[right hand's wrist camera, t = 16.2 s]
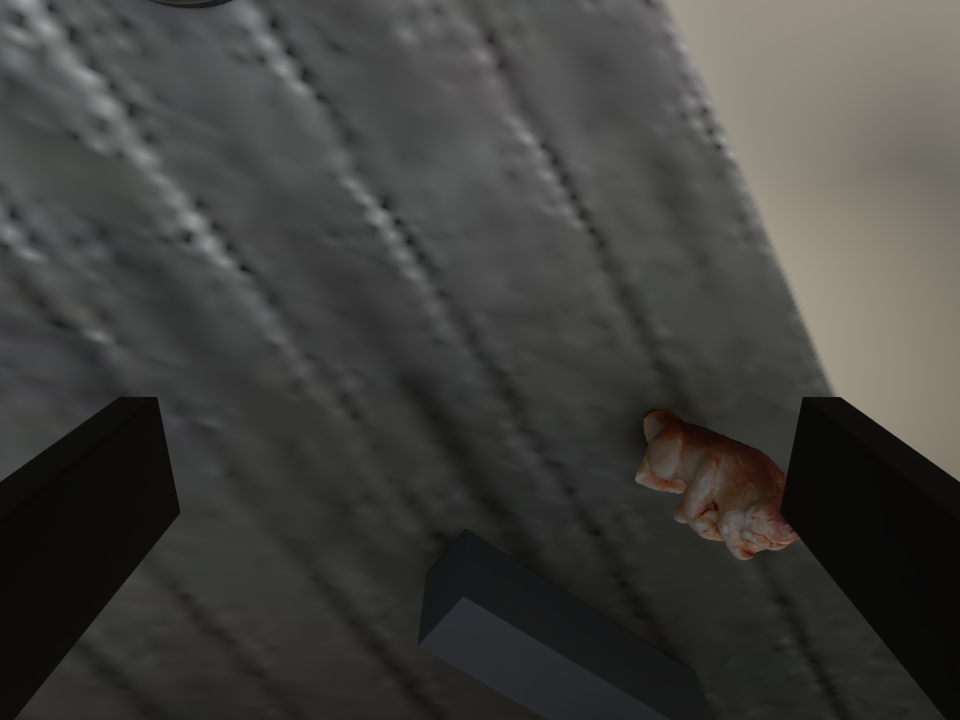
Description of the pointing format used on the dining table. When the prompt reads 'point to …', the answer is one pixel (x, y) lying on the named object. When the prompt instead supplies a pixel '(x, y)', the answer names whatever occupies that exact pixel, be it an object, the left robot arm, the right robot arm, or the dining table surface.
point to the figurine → (716, 484)
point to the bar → (546, 643)
